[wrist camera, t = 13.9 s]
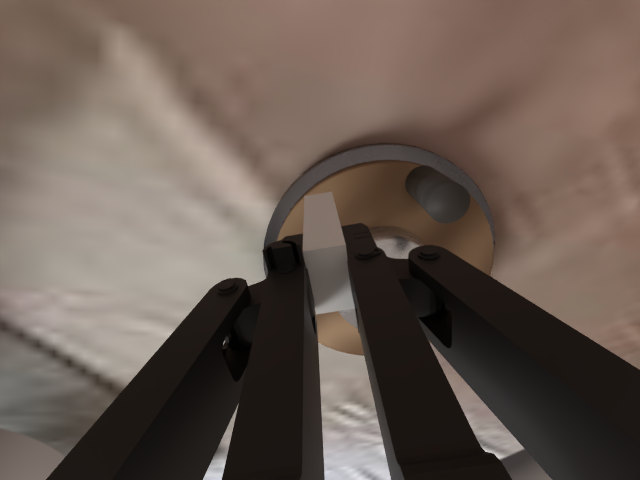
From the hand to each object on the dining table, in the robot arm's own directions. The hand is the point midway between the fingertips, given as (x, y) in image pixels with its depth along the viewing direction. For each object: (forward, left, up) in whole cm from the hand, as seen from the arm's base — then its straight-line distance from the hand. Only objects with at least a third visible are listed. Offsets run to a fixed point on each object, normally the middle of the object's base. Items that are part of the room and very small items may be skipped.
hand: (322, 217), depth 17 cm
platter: (+4, -8, -8) cm, 12 cm away
